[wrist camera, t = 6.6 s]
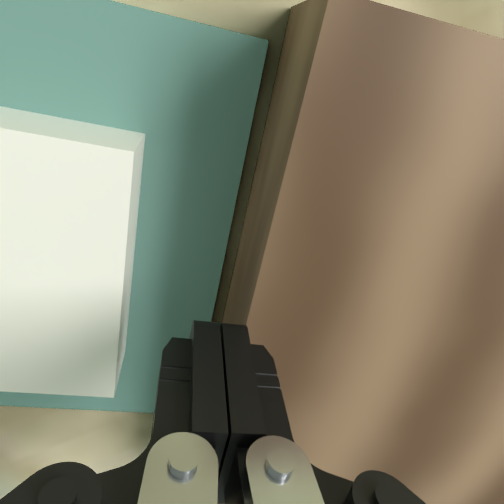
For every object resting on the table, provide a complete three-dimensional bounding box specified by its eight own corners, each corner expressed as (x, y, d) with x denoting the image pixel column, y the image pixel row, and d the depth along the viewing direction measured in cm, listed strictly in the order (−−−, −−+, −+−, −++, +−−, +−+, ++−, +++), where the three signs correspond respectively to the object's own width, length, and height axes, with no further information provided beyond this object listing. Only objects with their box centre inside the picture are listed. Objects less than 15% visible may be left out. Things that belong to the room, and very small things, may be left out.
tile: (-132, 104, 9) (-68, 93, 11) (-75, 387, 13) (-36, 337, 15) (134, 151, 10) (145, 133, 13) (113, 397, 14) (125, 350, 16)
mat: (267, 40, 12) (269, 40, 12) (192, 409, 19) (192, 414, 19) (-111, -55, 10) (-119, -58, 10) (-41, 397, 17) (-45, 403, 17)
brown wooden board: (691, 116, 15) (843, 137, 11) (475, 436, 23) (527, 508, 19) (290, 7, 12) (330, -11, 8) (199, 424, 19) (199, 508, 16)
